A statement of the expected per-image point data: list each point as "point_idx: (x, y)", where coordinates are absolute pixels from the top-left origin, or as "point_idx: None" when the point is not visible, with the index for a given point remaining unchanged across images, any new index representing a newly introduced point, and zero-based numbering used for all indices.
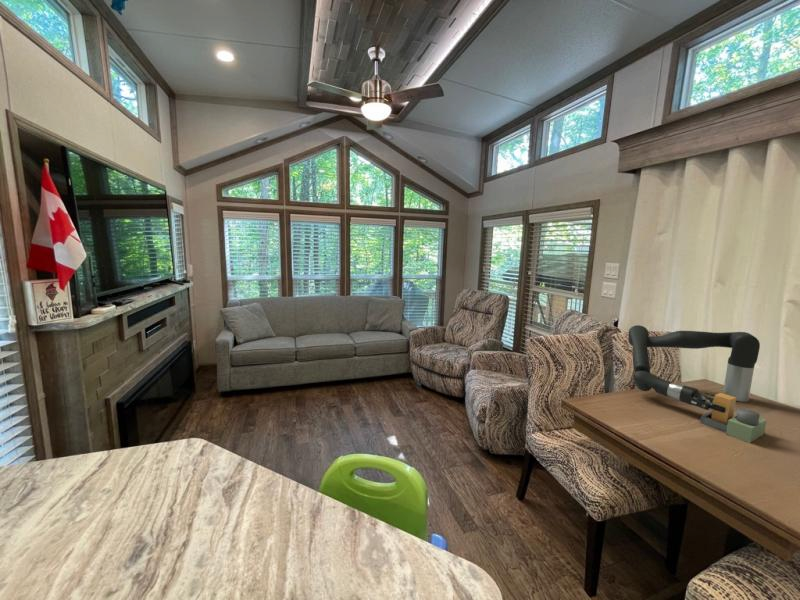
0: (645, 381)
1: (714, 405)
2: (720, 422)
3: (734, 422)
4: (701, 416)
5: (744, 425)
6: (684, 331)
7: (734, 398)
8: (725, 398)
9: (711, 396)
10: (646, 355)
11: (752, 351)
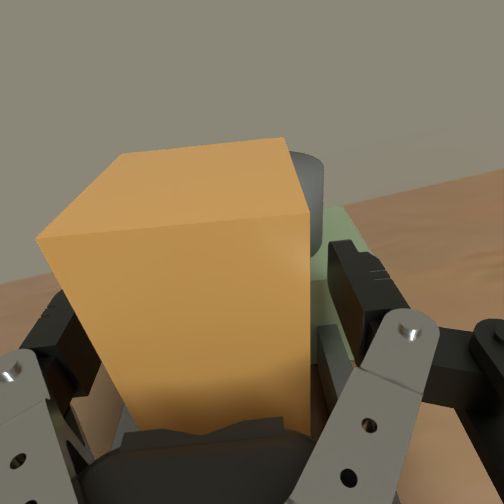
0: None
1: (383, 310)
2: (344, 372)
3: (369, 250)
4: None
5: (347, 224)
6: None
7: (171, 152)
8: (289, 155)
9: (32, 473)
10: None
11: None
